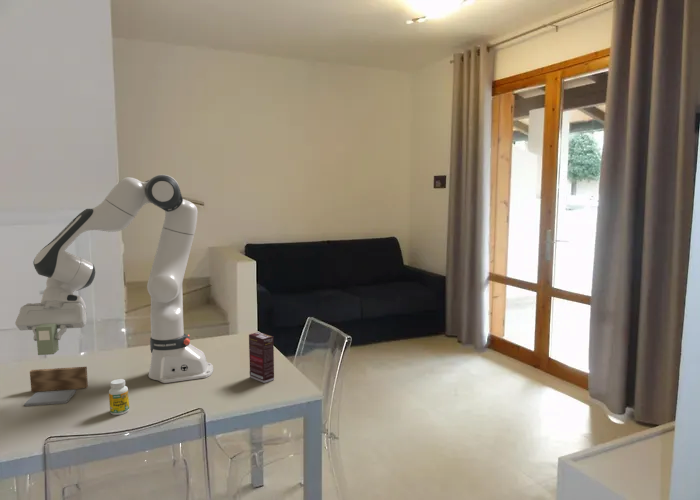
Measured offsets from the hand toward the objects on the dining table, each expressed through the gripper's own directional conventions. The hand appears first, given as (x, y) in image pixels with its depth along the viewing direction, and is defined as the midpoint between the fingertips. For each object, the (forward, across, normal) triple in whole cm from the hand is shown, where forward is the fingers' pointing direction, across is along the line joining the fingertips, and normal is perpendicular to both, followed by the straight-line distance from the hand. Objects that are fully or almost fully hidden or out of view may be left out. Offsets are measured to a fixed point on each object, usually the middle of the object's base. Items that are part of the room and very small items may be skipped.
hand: (46, 339), depth 163 cm
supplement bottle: (+24, +24, +4) cm, 34 cm away
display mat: (+14, 0, +13) cm, 19 cm away
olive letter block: (+3, 0, +4) cm, 4 cm away
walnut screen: (+8, 0, +19) cm, 21 cm away
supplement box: (+10, +67, +17) cm, 70 cm away
